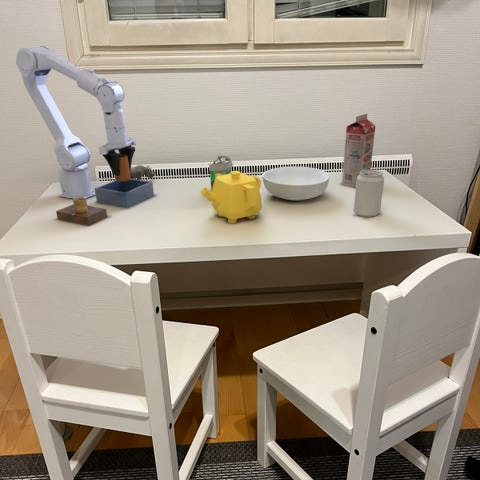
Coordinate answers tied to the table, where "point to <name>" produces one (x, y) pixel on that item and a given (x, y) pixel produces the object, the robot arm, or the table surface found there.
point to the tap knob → (80, 205)
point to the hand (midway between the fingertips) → (121, 173)
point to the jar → (123, 169)
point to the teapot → (235, 195)
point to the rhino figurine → (141, 172)
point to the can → (368, 193)
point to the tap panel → (82, 215)
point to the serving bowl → (295, 182)
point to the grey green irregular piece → (220, 168)
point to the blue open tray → (124, 192)
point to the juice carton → (357, 149)
